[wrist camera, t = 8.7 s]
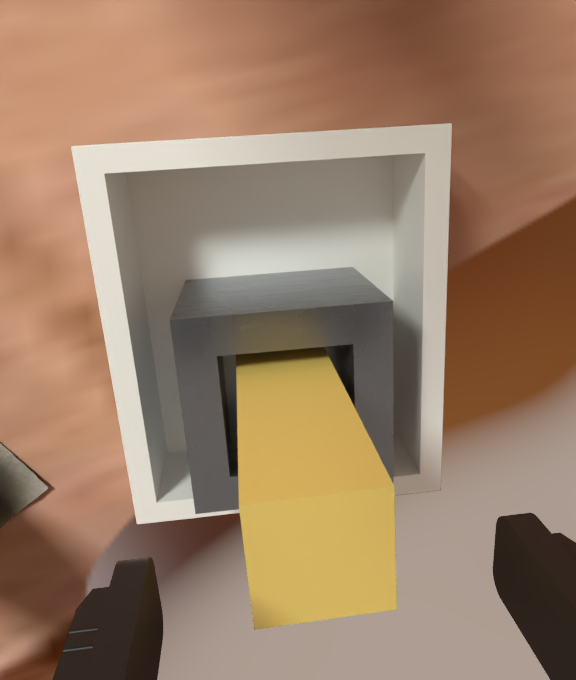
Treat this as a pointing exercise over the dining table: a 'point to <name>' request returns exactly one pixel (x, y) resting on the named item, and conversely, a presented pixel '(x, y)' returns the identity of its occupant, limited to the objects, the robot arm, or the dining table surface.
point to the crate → (265, 268)
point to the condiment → (16, 485)
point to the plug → (310, 494)
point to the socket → (275, 335)
